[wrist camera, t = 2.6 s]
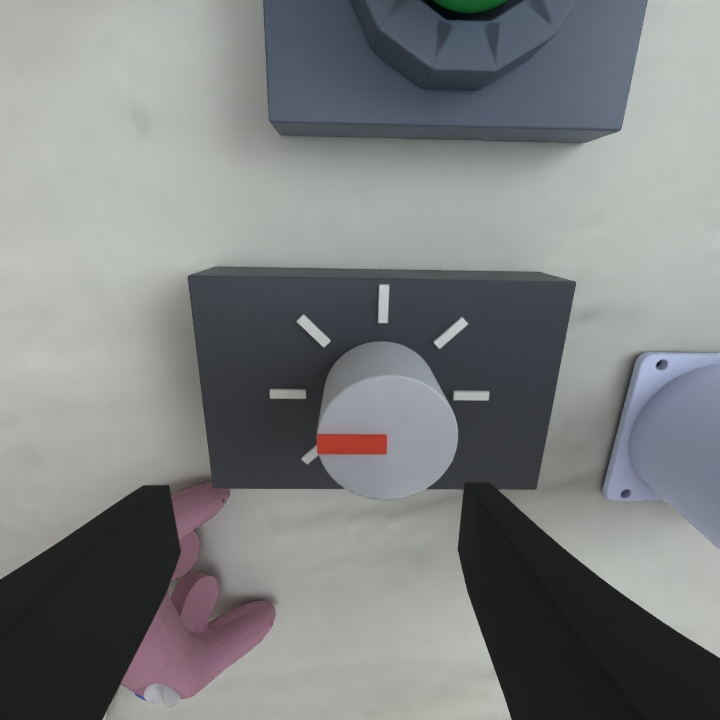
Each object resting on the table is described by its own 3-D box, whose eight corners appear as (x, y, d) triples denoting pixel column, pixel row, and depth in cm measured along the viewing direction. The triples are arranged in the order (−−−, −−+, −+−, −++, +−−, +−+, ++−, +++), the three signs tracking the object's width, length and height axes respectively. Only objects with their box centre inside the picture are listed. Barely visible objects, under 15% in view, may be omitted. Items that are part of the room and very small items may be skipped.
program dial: (440, 341, 15) (468, 379, 11) (431, 443, 17) (454, 507, 13) (323, 339, 15) (313, 378, 11) (324, 443, 16) (316, 507, 13)
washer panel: (540, 271, 17) (579, 282, 14) (511, 452, 20) (538, 492, 17) (214, 266, 17) (185, 276, 14) (232, 451, 20) (211, 491, 17)
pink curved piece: (172, 465, 22) (31, 569, 16) (234, 473, 20) (96, 597, 14) (228, 597, 25) (128, 723, 19) (286, 617, 23) (193, 766, 17)
